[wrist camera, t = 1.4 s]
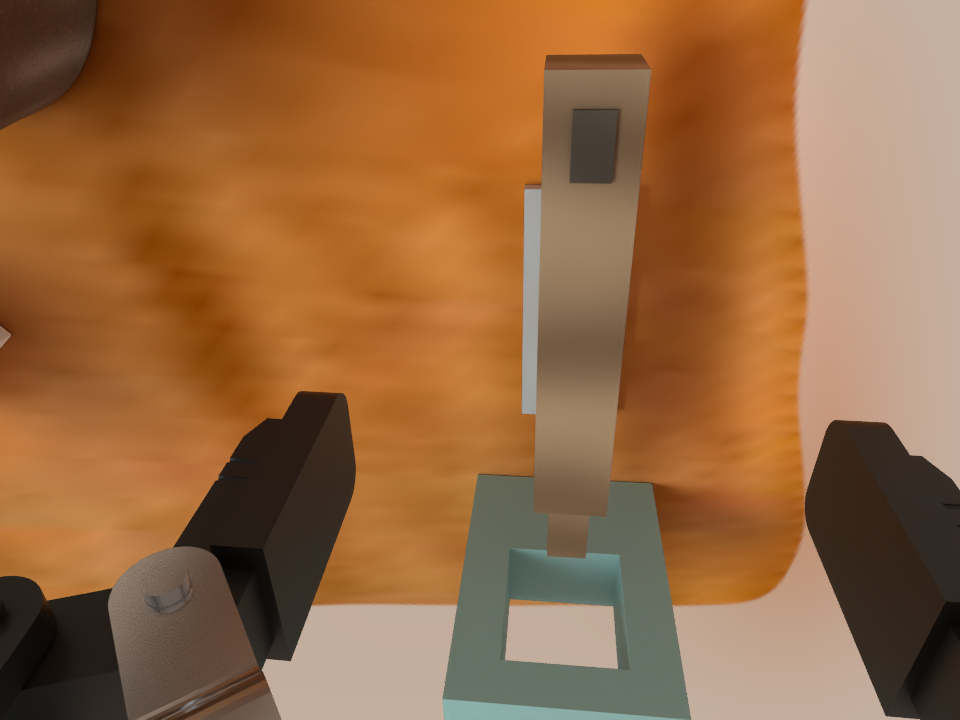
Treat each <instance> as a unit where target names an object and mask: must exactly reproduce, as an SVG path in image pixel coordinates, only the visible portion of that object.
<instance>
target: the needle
mask: <svg viewBox="0 0 960 720" xmlns="http://www.w3.org/2000/svg"><path fill="white" fill-rule="evenodd" d="M650 79H651V68H650V66H649V65H648V64H647V62H646V61H645V59H644V58H643V56H642V55H641V54H612V55H546V62H545V70H544V107H543V147H542V187H541V227H540V268H539V308H538V348H537V388H536V428H535V468H534V509H533V513H548V536H547V556H550V557H566V558H582V559H586V549H587V537H588V525H589V516H601V517H606V516H607V506H608V496H609V486H610V477H611V467H612V457H613V447H614V437H615V427H616V417H617V407H618V397H619V387H620V377H621V367H622V357H623V347H624V337H625V327H626V318H627V308H628V298H629V288H630V278H631V268H632V258H633V248H634V238H635V228H636V218H637V208H638V198H639V188H640V178H641V168H642V159H643V149H644V139H645V129H646V119H647V109H648V99H649V89H650Z"/></svg>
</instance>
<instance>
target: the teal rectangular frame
mask: <svg viewBox="0 0 960 720" xmlns="http://www.w3.org/2000/svg"><path fill="white" fill-rule="evenodd" d="M533 509H534V477H519V476H500V475H480V474H478V478H477V484H476V490H475V497H474V503H473V509H472V516H471V522H470V528H469V535H468V541H467V547H466V554H465V560H464V566H463V573H462V579H461V585H460V592H459V598H458V604H457V611H456V617H455V624H454V630H453V637H452V643H451V649H450V656H449V662H448V668H447V674H446V681H445V687H444V694H443V709H444V720H691V717H690V711H689V704H688V698H687V692H686V687H685V680H684V674H683V668H682V662H681V656H680V650H679V644H678V638H677V632H676V626H675V619H674V614H673V607H672V601H671V595H670V589H669V583H668V577H667V571H666V565H665V559H664V553H663V547H662V541H661V535H660V528H659V522H658V516H657V510H656V504H655V498H654V492H653V486H652V483H637V482H617V481H610V486H609V496H608V506H607V516H606V517H601V516H589V525H588V537H587V549H586V559H582V558H566V557H550V556H547V536H548V513H533ZM510 599H517V600H532V601H546V602H561V603H575V604H590V605H604V606H613V608H614V621H615V634H616V646H617V660H618V669H609V668H597V667H584V666H570V665H559V664H546V663H545V664H544V663H533V662H519V661H506V660H505V652H506V638H507V627H508V614H509V602H510Z"/></svg>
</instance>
